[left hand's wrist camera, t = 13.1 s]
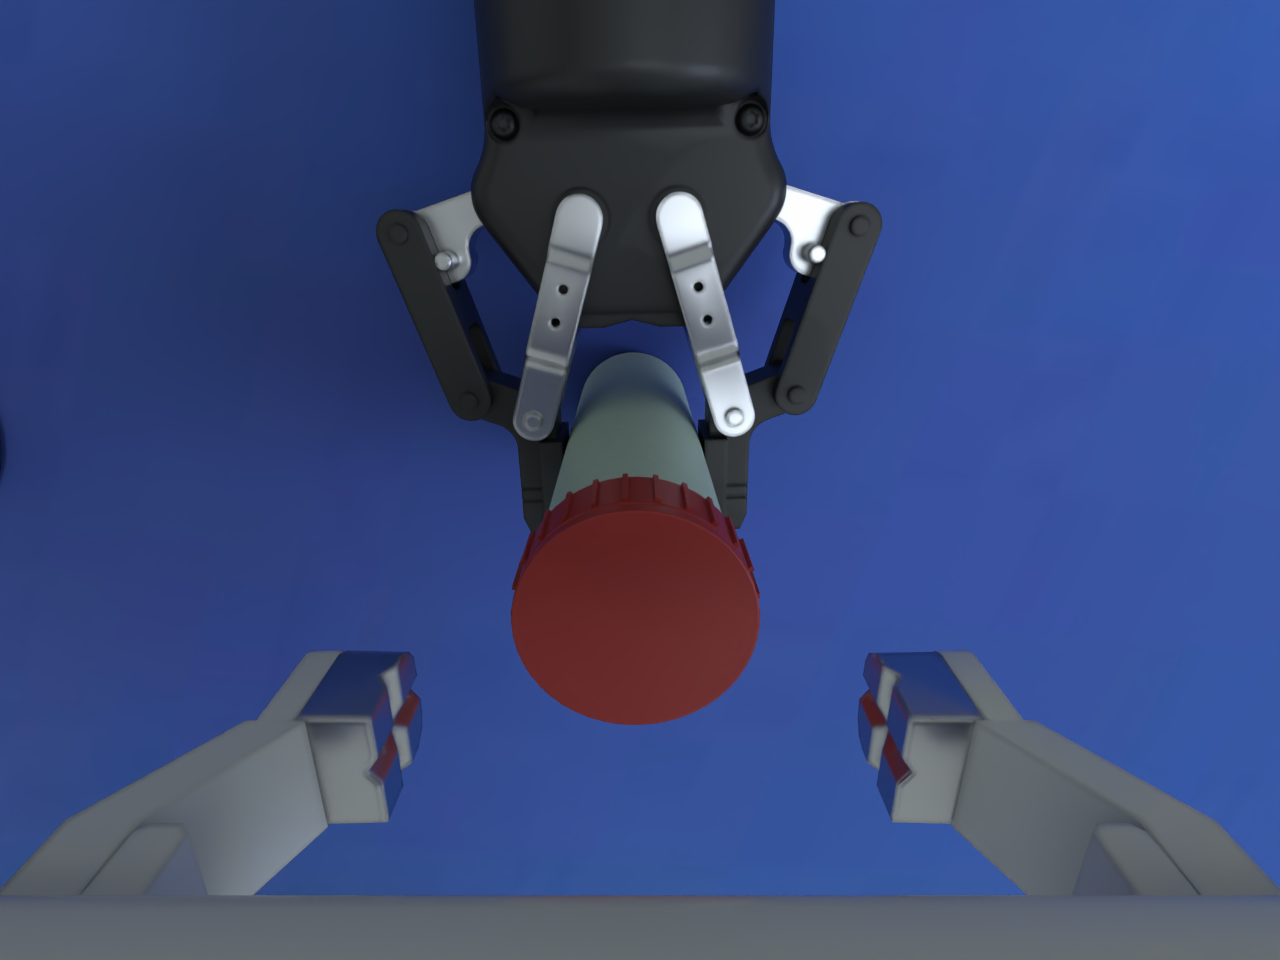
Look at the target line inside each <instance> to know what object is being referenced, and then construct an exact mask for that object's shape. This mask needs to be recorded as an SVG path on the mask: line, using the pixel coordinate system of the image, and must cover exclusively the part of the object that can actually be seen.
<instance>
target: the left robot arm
mask: <svg viewBox="0 0 1280 960" xmlns="http://www.w3.org/2000/svg"><path fill="white" fill-rule="evenodd" d="M416 676H417V673H416V667H415V661H414V657H413V656H412V655H411V654H410V653H409V652H386V651H312V652H309V653H307V654H306V655H305V656H304V657H303V659H302V660H301V661H300V663H299V664H298V665H297V667H296V668H295V669H294V671H293V672H292V673H291V675H290V676H289V677H288V679H287V680H286V681H285V683H284V684H283V685H282V687H281V688H280V689H279V691H278V692H277V693H276V695H275V696H274V697H273V698H272V700H271V701H270V702H269V704H268V705H267V706H266V708H265V709H264V710H263V712H262V713H261V714H260V716H259V717H258V718H257V720H246V721H244V722H242V723H240V724H238V725H237V726H235V727H233V728H231V729H229V730H228V731H226V732H224V733H222V734H220V735H218V736H217V737H215V738H213V739H211V740H209V741H208V742H206V743H204V744H202V745H200V746H199V747H197V748H195V749H193V750H191V751H189V752H188V753H186V754H184V755H182V756H180V757H179V758H177V759H175V760H173V761H171V762H170V763H168V764H166V765H164V766H162V767H160V768H159V769H157V770H155V771H153V772H151V773H150V774H148V775H146V776H144V777H142V778H141V779H139V780H137V781H135V782H133V783H131V784H130V785H128V786H126V787H124V788H122V789H121V790H119V791H117V792H115V793H113V794H112V795H110V796H108V797H106V798H104V799H102V800H101V801H99V802H97V803H95V804H93V805H92V806H90V807H88V808H86V809H84V810H83V811H81V812H79V813H77V814H75V815H73V816H72V817H70V818H68V819H66V820H65V821H64V822H63V823H62V824H61V825H60V826H59V827H58V828H57V829H56V830H55V831H54V832H53V833H52V835H51V836H50V837H49V838H48V839H47V840H46V841H45V842H44V843H43V844H42V845H41V846H40V847H39V848H38V849H37V851H36V852H35V853H34V854H33V855H32V856H31V857H30V858H29V859H28V860H27V861H26V862H25V863H24V864H23V865H22V866H21V868H20V869H19V870H18V871H17V872H16V873H15V874H14V875H13V876H12V877H11V878H10V879H9V880H8V881H7V882H6V884H5V885H4V886H3V887H2V888H1V889H0V960H1280V889H1279V888H1278V887H1277V886H1276V884H1275V883H1274V882H1273V881H1272V880H1271V879H1270V878H1269V877H1268V876H1267V875H1266V874H1265V873H1264V872H1263V871H1262V870H1261V868H1260V867H1259V866H1258V865H1257V864H1256V863H1255V862H1254V861H1253V860H1252V859H1251V858H1250V857H1249V856H1248V855H1247V853H1246V852H1245V851H1244V850H1243V849H1242V848H1241V847H1240V846H1239V845H1238V844H1237V843H1236V842H1235V841H1234V840H1233V838H1232V837H1231V836H1230V835H1229V834H1228V833H1227V832H1226V831H1225V830H1224V829H1223V828H1222V827H1221V826H1220V825H1219V823H1218V822H1217V821H1215V820H1213V819H1211V818H1210V817H1208V816H1206V815H1204V814H1202V813H1201V812H1199V811H1197V810H1195V809H1193V808H1192V807H1190V806H1188V805H1186V804H1184V803H1182V802H1181V801H1179V800H1177V799H1175V798H1173V797H1172V796H1170V795H1168V794H1166V793H1164V792H1163V791H1161V790H1159V789H1157V788H1155V787H1154V786H1152V785H1150V784H1148V783H1146V782H1145V781H1143V780H1141V779H1139V778H1137V777H1136V776H1134V775H1132V774H1130V773H1128V772H1126V771H1125V770H1123V769H1121V768H1119V767H1117V766H1116V765H1114V764H1112V763H1110V762H1108V761H1107V760H1105V759H1103V758H1101V757H1099V756H1098V755H1096V754H1094V753H1092V752H1090V751H1089V750H1087V749H1085V748H1083V747H1081V746H1080V745H1078V744H1076V743H1074V742H1072V741H1070V740H1069V739H1067V738H1065V737H1063V736H1061V735H1060V734H1058V733H1056V732H1054V731H1052V730H1051V729H1049V728H1047V727H1045V726H1043V725H1042V724H1040V723H1038V722H1036V721H1034V720H1023V718H1022V717H1021V716H1020V715H1019V713H1018V712H1017V711H1016V709H1015V708H1014V707H1013V705H1012V704H1011V703H1010V701H1009V700H1008V699H1007V697H1006V696H1005V695H1004V693H1003V692H1002V691H1001V689H1000V688H999V687H998V685H997V684H996V683H995V681H994V680H993V679H992V678H991V676H990V675H989V674H988V672H987V671H986V670H985V668H984V667H983V666H982V664H981V663H980V662H979V660H978V659H977V658H976V656H975V655H974V654H973V653H971V652H969V651H967V650H954V651H934V652H890V653H869V654H868V656H867V658H866V661H865V666H864V672H863V676H864V678H865V680H866V682H867V685H868V687H869V690H868V691H867V692H866V693H865V694H864V695H863V696H862V697H861V698H860V700H859V709H858V729H859V738H860V742H861V746H862V750H863V752H864V755H865V757H866V760H867V762H868V763H869V764H871V765H872V766H873V767H875V768H876V769H877V770H879V774H878V780H877V787H878V789H879V792H880V794H881V797H882V799H883V801H884V804H885V806H886V809H887V811H888V813H889V816H890V818H891V821H892V822H909V823H945V824H952V827H953V828H954V829H955V830H956V831H957V832H959V833H960V834H961V835H962V836H963V837H964V838H965V839H966V840H967V841H968V842H969V843H971V844H972V845H973V846H974V847H975V848H976V849H977V850H978V851H979V852H980V853H982V854H983V855H984V856H985V857H986V858H987V859H988V860H989V861H990V862H991V863H993V864H994V865H995V866H996V867H997V868H998V869H999V870H1000V871H1001V872H1002V873H1004V874H1005V875H1006V876H1007V877H1008V878H1009V879H1010V880H1011V881H1012V882H1013V883H1015V884H1016V885H1017V886H1018V887H1019V888H1020V889H1021V890H1022V891H1023V892H1024V893H1025V894H1027V895H863V896H772V895H318V896H286V895H254V894H255V893H256V892H257V891H258V890H259V889H260V888H261V887H262V886H263V885H265V884H266V883H267V882H268V881H269V880H270V879H271V878H272V877H273V876H275V875H276V874H277V873H278V872H279V871H280V870H281V869H282V868H283V867H284V866H286V865H287V864H288V863H289V862H290V861H291V860H292V859H293V858H294V857H295V856H297V855H298V854H299V853H300V852H301V851H302V850H303V849H304V848H305V847H306V846H308V845H309V844H310V843H311V842H312V841H313V840H314V839H315V838H316V837H317V836H319V835H320V834H321V833H322V832H323V831H324V830H325V829H326V828H327V827H328V825H327V824H335V823H369V822H388V821H389V818H390V816H391V814H392V811H393V809H394V806H395V804H396V801H397V799H398V797H399V794H400V792H401V789H402V787H403V780H402V774H401V770H403V769H404V768H405V767H407V766H408V765H409V764H411V763H412V762H413V760H414V757H415V755H416V752H417V750H418V747H419V741H420V736H421V730H422V708H421V700H420V698H419V697H418V696H417V695H416V694H415V693H414V692H413V691H412V690H411V687H412V685H413V682H414V680H415V678H416Z"/></svg>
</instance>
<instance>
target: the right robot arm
mask: <svg viewBox="0 0 1280 960" xmlns="http://www.w3.org/2000/svg"><path fill="white" fill-rule="evenodd" d="M474 7H475V19H476V30H477V42H478V54H479V65H480V77H481V89H482V100H483V112H484V124H485V139H484V146H483V151H482V155H481V158H480V161H479V164H478V166H477V168H476V170H475V173H474V175H473V179H472V184H471V191H470V192H467V193H465V194H462V195H459V196H456V197H453V198H451V199H448V200H445V201H442V202H440V203H437V204H434V205H431V206H429V207H426V208H423V209H420V210H390V211H387V212H386V213H384V214H383V215H382V216H381V217H380V219H379V220H378V223H377V226H376V235H377V239H378V242H379V244H380V246H381V249H382V251H383V253H384V255H385V258H386V260H387V262H388V265H389V267H390V269H391V272H392V274H393V276H394V278H395V281H396V283H397V285H398V288H399V290H400V292H401V294H402V297H403V299H404V301H405V304H406V306H407V308H408V311H409V313H410V315H411V317H412V320H413V322H414V324H415V327H416V329H417V331H418V333H419V336H420V338H421V340H422V343H423V345H424V347H425V350H426V352H427V354H428V356H429V359H430V361H431V363H432V366H433V368H434V370H435V373H436V375H437V377H438V379H439V382H440V384H441V386H442V389H443V391H444V393H445V395H446V398H447V400H448V402H449V405H450V407H451V409H452V411H453V412H454V413H455V414H456V415H457V416H458V417H460V418H462V419H464V420H469V421H474V420H478V419H483V420H486V421H489V422H492V423H495V424H498V425H501V426H503V427H505V428H506V429H508V430H509V431H510V432H511V433H512V434H513V436H514V437H515V439H516V441H517V444H518V452H519V464H520V476H521V488H522V500H523V512H524V519H525V521H526V523H527V525H528V527H529V529H530V531H533V532H536V530H537V528H538V527H539V525H540V524H541V523H542V520H543V517H544V513H545V511H546V510H547V509H549V507H550V504H551V500H552V497H553V493H554V490H555V486H556V483H557V479H558V476H559V472H560V469H561V465H562V461H563V458H564V454H565V451H566V447H567V444H568V440H569V424H568V422H561V405H562V401H563V397H564V393H565V389H566V385H567V381H568V377H569V373H570V369H571V365H572V361H573V357H574V353H575V350H576V346H577V343H578V339H579V335H580V331H581V328H604V327H608V326H611V325H615V324H618V323H621V322H625V321H628V320H636V321H640V322H644V323H648V324H652V325H656V326H683V327H684V331H685V334H686V337H687V341H688V344H689V347H690V350H691V353H692V356H693V360H694V363H695V366H696V370H697V373H698V377H699V380H700V383H701V387H702V390H703V393H704V397H705V420H698V437H699V441H700V444H701V447H702V451H703V454H704V457H705V460H706V464H707V467H708V470H709V474H710V477H711V480H712V483H713V487H714V490H715V493H716V497H717V500H718V503H719V506H720V510H721V513H722V514H723V515H724V516H725V517H727V516H728V515H729V516H730V517H731V519H732V522H733V525H734V528H735V529H739V528H740V526H741V524H742V522H743V520H744V518H745V516H746V508H747V481H748V455H749V440H750V436H751V434H752V432H753V430H754V429H755V428H756V427H757V426H758V425H759V424H760V423H762V422H763V421H765V420H768V419H770V418H773V417H776V416H778V415H781V414H784V413H787V414H790V415H799V414H803V413H805V412H807V411H808V410H809V409H810V408H811V407H812V406H813V405H814V403H815V401H816V399H817V396H818V394H819V391H820V388H821V386H822V383H823V381H824V378H825V375H826V373H827V370H828V368H829V365H830V362H831V360H832V357H833V355H834V352H835V349H836V347H837V344H838V341H839V339H840V336H841V334H842V331H843V328H844V326H845V323H846V321H847V318H848V315H849V313H850V310H851V308H852V305H853V302H854V300H855V297H856V295H857V292H858V289H859V287H860V284H861V281H862V279H863V276H864V274H865V271H866V268H867V266H868V263H869V261H870V258H871V255H872V253H873V250H874V248H875V245H876V242H877V240H878V237H879V235H880V232H881V228H882V218H881V215H880V213H879V211H878V209H877V208H876V207H875V206H874V205H872V204H870V203H867V202H858V201H847V202H838V201H835V200H832V199H829V198H826V197H823V196H819V195H816V194H813V193H810V192H807V191H804V190H801V189H797V188H794V187H791V186H788V185H787V184H786V177H785V173H784V170H783V167H782V165H781V163H780V161H779V159H778V157H777V155H776V152H775V149H774V146H773V143H772V138H771V131H770V106H771V82H772V58H773V34H774V11H775V0H474ZM774 222H776V223H777V224H778V225H779V226H780V227H781V228H782V231H783V233H784V237H785V244H784V249H783V257H784V261H785V263H786V265H787V266H788V267H789V268H790V269H791V270H793V271H795V272H797V274H796V277H795V280H794V283H793V285H792V288H791V291H790V294H789V297H788V300H787V302H786V305H785V308H784V311H783V314H782V317H781V320H780V322H779V325H778V328H777V331H776V334H775V337H774V340H773V342H772V345H771V348H770V351H769V354H768V357H767V360H766V362H765V365H764V367H762V368H759V369H756V370H754V371H751V372H748V373H746V374H744V371H743V368H742V364H741V360H740V355H739V347H738V343H737V339H736V335H735V332H734V328H733V324H732V321H731V317H730V313H729V310H728V306H727V302H726V298H725V295H724V291H725V290H726V288H727V287H728V285H729V284H730V283H731V281H732V280H733V278H734V277H735V276H736V274H737V273H738V271H739V270H740V269H741V267H742V266H743V264H744V263H745V262H746V260H747V259H748V258H749V256H750V255H751V253H752V252H753V251H754V249H755V248H756V246H757V245H758V244H759V242H760V241H761V239H762V238H763V237H764V235H765V234H766V232H767V231H768V230H769V228H770V227H771V225H772V224H773V223H774ZM483 228H486V229H487V231H488V232H489V233H490V234H491V236H492V237H493V238H494V239H495V241H496V242H497V243H498V245H499V246H500V247H501V248H502V250H503V251H504V252H505V254H506V255H507V256H508V257H509V259H510V260H511V261H512V262H513V264H514V265H515V266H516V268H517V269H518V270H519V271H520V273H521V274H522V275H523V276H524V278H525V279H526V280H527V282H528V283H529V284H530V285H531V287H532V288H533V289H534V290H535V292H536V293H537V294H538V300H537V304H536V309H535V313H534V318H533V322H532V327H531V331H530V336H529V340H528V345H527V349H526V356H525V358H526V360H525V366H524V370H523V375H522V379H521V378H518V377H515V376H512V375H509V374H506V373H503V372H502V371H501V369H500V366H499V364H498V361H497V359H496V356H495V354H494V351H493V349H492V346H491V344H490V341H489V339H488V336H487V334H486V331H485V329H484V326H483V324H482V321H481V319H480V316H479V314H478V311H477V309H476V306H475V304H474V301H473V299H472V296H471V294H470V291H469V289H468V286H467V284H466V281H465V279H466V278H468V277H469V276H471V275H472V274H473V273H474V271H475V269H476V267H477V262H478V258H477V253H476V247H475V244H476V238H477V236H478V234H479V232H480V231H481V230H482V229H483ZM1 459H2V450H1V440H0V469H1Z"/></svg>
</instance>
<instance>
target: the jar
mask: <svg viewBox="0 0 1280 960" xmlns="http://www.w3.org/2000/svg"><path fill="white" fill-rule="evenodd" d="M625 473H628V477H650V478H653V474H655V475H658V476H659V479H662V480H667V481H670V482H673V483H676V484H679V485H681V484H682V482H684V483H686V484H687V486H688V489H690V490H692V491H694V492H696V493H698V494H699V495H701V496H702V497H704V498H705V499H706V498H707V497H708V496H709V497H710V498H712V501H713V504H714V506H715V507H716V508H717V509H718V510H719V511H720V512H721V510H720V506H719V503H718V500H717V497H716V493H715V490H714V487H713V483H712V480H711V477H710V474H709V470H708V467H707V464H706V460H705V457H704V454H703V451H702V447H701V444H700V441H699V437H698V434H697V431H696V428H695V424H694V421H693V418H692V414H691V411H690V408H689V405H688V401H687V398H686V395H685V392H684V388H683V385H682V383H681V381H680V379H679V377H678V376H677V374H676V373H675V372H674V371H673V369H672V368H671V367H670V366H668V365H667V364H666V363H665V362H663V361H662V360H660V359H658V358H656V357H654V356H651V355H649V354H644V353H636V352H631V353H623V354H619V355H615V356H613V357H611V358H608V359H607V360H605V361H604V362H602V363H601V364H599V365H598V366H597V367H596V368H595V369H594V370H593V371H592V373H591V374H590V375H589V377H588V379H587V381H586V383H585V385H584V388H583V391H582V394H581V398H580V401H579V405H578V408H577V412H576V415H575V419H574V422H573V426H572V430H571V433H570V437H569V440H568V444H567V447H566V451H565V454H564V458H563V461H562V465H561V469H560V472H559V476H558V479H557V483H556V486H555V490H554V493H553V497H552V500H551V504H550V507H549V510H550V511H552V510H553V509H554V507H556V506H557V505H558V504H559V503H561V502H562V501H563V500H564V499H565V498H566V493H568V492H569V491H571V492H572V493H573V494H574V493H575V492H577V491H578V490H581V489H583V488H585V487H587V486H590V485H592V484H593V480H595V479H598V480H599V482H601V481H605V480H609V479H615V478H621V477H622V476H623V474H625Z"/></svg>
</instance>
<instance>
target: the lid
mask: <svg viewBox="0 0 1280 960" xmlns="http://www.w3.org/2000/svg"><path fill="white" fill-rule="evenodd" d="M752 571H754V568H753V565H752V563H751V560H750V557H749V554H748V551H747V548H746V545H745V542H744V540H743V538H742V539H740V540H739V539H738V537H737V534H736V531H735V528H734V525H733V522H732V519H731V517H730V516H729V515H728V516H727V517H725V516H724V515H723V514H722V513H721V512H720V511H719V510H718V509H717V508H716V507H715V506H714V504H713V501H712V498H710V497H709V496H708V497H707V498H706V499H705V498H704V497H702V496H701V495H699V494H698V493H696V492H694V491H692V490H690V489H688V486H687V484H686V483H684V482H682V484H681V485H679V484H676V483H673V482H670V481H667V480H662V479H659V476H658V475H655V474H653V478H650V477H628V473H625V474H623V476H622V477H621V478H615V479H609V480H605V481H601V482H599V480H598V479H595V480H593V484H592V485H590V486H587V487H585V488H583V489H581V490H578V491H577V492H575V493H574V494H573V493H572V492H571V491H569V492H568V493H566V498H565V499H564V500H563V501H562V502H561V503H559V504H558V505H557V506H556V507H554V509H553V510H552V511H550V510H549V509H547V510H546V511H545V513H544V517H543V520H542V523H541V524H540V525H539V527H538V528H537V530H536V532H533V531H531V533H530V535H529V538H528V541H527V544H526V547H525V550H524V553H523V556H522V558H521V561H520V564H519V567H518V570H517V573H516V576H515V579H514V582H513V586H512V590H515V593H514V597H513V603H512V609H511V625H512V632H513V638H514V642H515V645H516V649H517V651H518V653H519V656H520V658H521V660H522V662H523V664H524V666H525V667H526V669H527V671H528V672H529V674H530V675H531V677H532V678H533V679H534V680H535V681H536V682H537V684H538V685H539V686H540V687H541V688H542V689H543V690H544V691H545V692H546V693H548V694H549V695H550V696H551V697H552V698H554V699H555V700H557V701H558V702H559V703H561V704H562V705H564V706H566V707H568V708H569V709H571V710H573V711H575V712H577V713H580V714H582V715H585V716H587V717H590V718H593V719H597V720H600V721H604V722H610V723H615V724H626V725H644V724H654V723H661V722H666V721H670V720H673V719H677V718H680V717H683V716H685V715H688V714H691V713H693V712H695V711H697V710H699V709H701V708H703V707H705V706H706V705H708V704H709V703H711V702H712V701H714V700H715V699H717V698H718V697H719V696H720V695H722V694H723V693H724V692H725V691H726V690H727V689H728V688H729V687H730V686H731V685H732V684H733V683H734V682H735V681H736V680H737V678H738V677H739V676H740V674H741V673H742V671H743V670H744V668H745V667H746V665H747V663H748V661H749V659H750V657H751V655H752V653H753V651H754V648H755V644H756V641H757V638H758V632H759V626H760V608H759V600H758V598H760V593H759V590H758V587H757V584H756V581H755V578H754V575H753V572H752Z"/></svg>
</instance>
